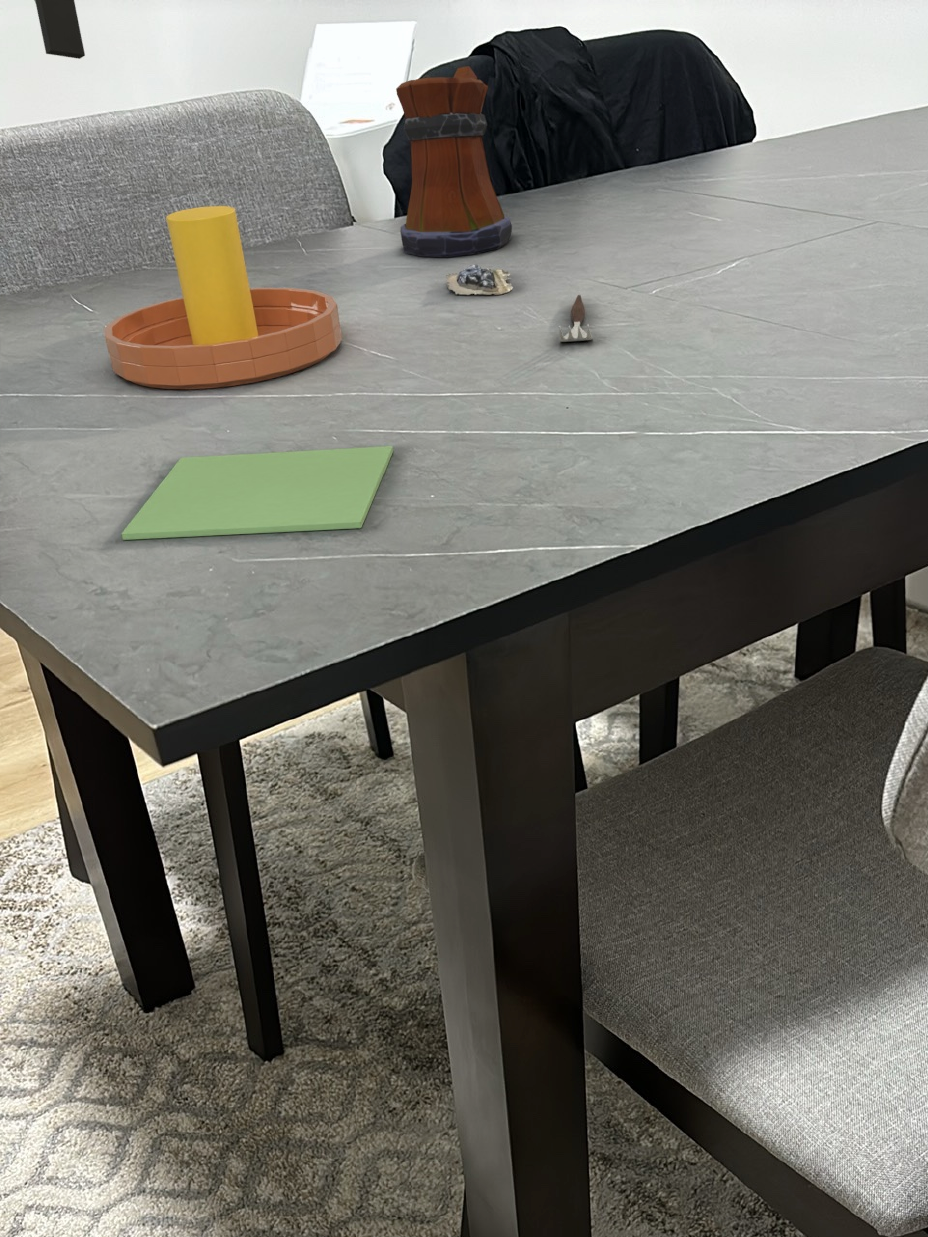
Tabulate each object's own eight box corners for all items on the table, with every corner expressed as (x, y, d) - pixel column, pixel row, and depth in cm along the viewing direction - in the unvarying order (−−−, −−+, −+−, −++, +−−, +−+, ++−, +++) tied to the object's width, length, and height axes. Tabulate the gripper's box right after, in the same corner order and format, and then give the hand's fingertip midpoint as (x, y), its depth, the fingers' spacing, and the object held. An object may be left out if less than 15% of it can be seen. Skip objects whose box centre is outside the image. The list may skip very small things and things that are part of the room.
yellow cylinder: (188, 362, 106) (157, 221, 100) (204, 344, 110) (176, 208, 104) (252, 358, 105) (225, 216, 99) (266, 340, 109) (241, 203, 103)
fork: (595, 300, 114) (594, 275, 112) (592, 352, 101) (591, 323, 100) (564, 302, 114) (563, 277, 113) (557, 354, 101) (556, 326, 100)
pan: (84, 398, 101) (72, 354, 99) (151, 335, 116) (142, 295, 114) (319, 384, 100) (312, 338, 98) (358, 321, 114) (352, 281, 112)
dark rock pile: (496, 272, 125) (494, 250, 124) (537, 287, 119) (536, 263, 118) (431, 286, 123) (428, 263, 121) (470, 301, 117) (468, 277, 116)
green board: (122, 540, 77) (120, 533, 77) (182, 463, 87) (180, 457, 87) (361, 528, 76) (360, 521, 76) (393, 451, 86) (392, 445, 86)
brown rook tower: (427, 224, 147) (410, 62, 137) (531, 218, 145) (520, 53, 135) (389, 261, 133) (367, 83, 123) (503, 255, 131) (489, 74, 121)
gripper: (202, -449, 80) (267, -36, 86) (6, -249, 96) (72, 85, 103) (90, -502, 75) (168, -58, 81) (-97, -281, 91) (-20, 72, 98)
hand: (115, 23), depth 92 cm, fingers open, 13 cm apart
